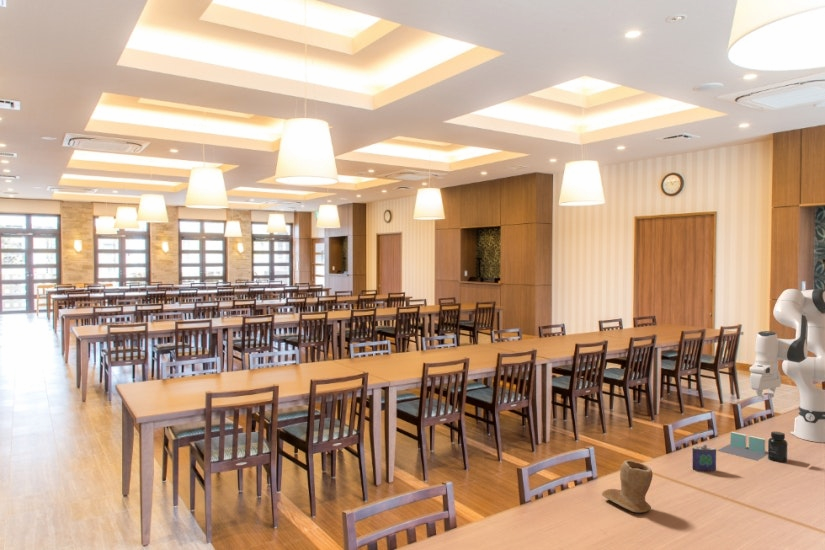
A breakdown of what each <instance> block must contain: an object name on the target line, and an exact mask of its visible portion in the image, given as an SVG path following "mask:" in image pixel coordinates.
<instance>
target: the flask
mask: <svg viewBox="0 0 825 550" xmlns="http://www.w3.org/2000/svg"><path fill="white" fill-rule="evenodd" d="M708 446H709V445H708V444H706V443H703V445H702V446H696V447H695V446H694V447H692V451H691V452H692V469H693V470H692V471H694V470H695V471H696V472H703V471H704V472H716V471H717V448H714V447H708ZM695 471H694V472H695Z"/></svg>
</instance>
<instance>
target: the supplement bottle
mask: <svg viewBox="0 0 825 550" xmlns="http://www.w3.org/2000/svg"><path fill="white" fill-rule="evenodd" d="M785 438H786V435H785V433H784V432H780V431H771V433H770V438H769V439H767V440H768V441H767V444H768V445H767V452H768V455H767V459H768V460H770V461H772V462H773V463H774V462H776V463H782V464H784V463H788V444H789V443H788V441H787V440H786V439H785Z"/></svg>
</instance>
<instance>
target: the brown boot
mask: <svg viewBox="0 0 825 550" xmlns="http://www.w3.org/2000/svg"><path fill="white" fill-rule="evenodd" d="M653 475H654V474H653V469H651V468H650V467H649V466H648V465H646V464H644V463H641V462H639V461H635V460H624V461H623V462H622V463H621V465H620V471H619V478H620V489H619V488H618V489H616V488H608V489H605V490H604V491H602V493H601V496H602V497H604V498H606V499H607V500H609V501H611V502H613V503H614V504H616V505H618V506H620V507H622V508H623V509H626V510H628V511H630V512H633V513H641V514H642V513H646V512H649V511H650V510H651V509H652V505H650V504H649V503H648V502H647V501H646V495H647V493H648V491H649V489H650V487H651V483H652V480H653Z"/></svg>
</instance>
